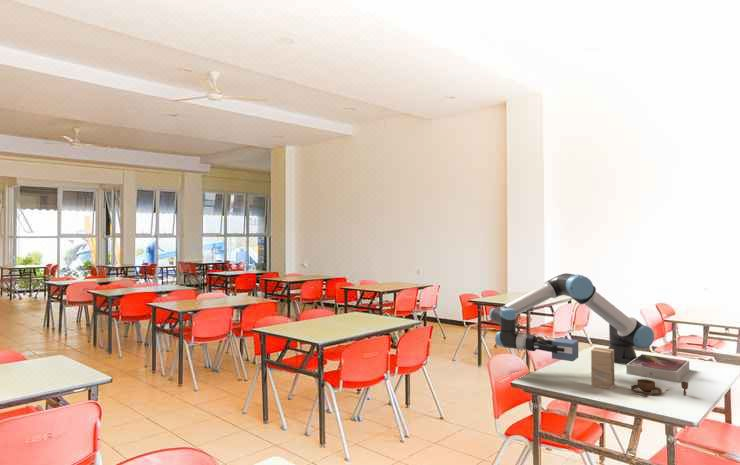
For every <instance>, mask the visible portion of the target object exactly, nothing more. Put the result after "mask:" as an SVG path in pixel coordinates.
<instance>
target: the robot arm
mask: <svg viewBox="0 0 740 465" xmlns="http://www.w3.org/2000/svg"><path fill="white" fill-rule="evenodd" d="M561 296H567V297H570V298H571V299H573V300H574V301H575V302H576V303H578V304H579V305H585V306H587V308H589V309H590V310H591V311H593V313H595V314H597V315H598V316H599V317H601V319H603V320H604V321H605V322H607V323H608V328H609V330H608V331H609V334H608V335H609V336H608V337H609V340H608V341H609V345H608V346H609V347H608V348H607V349H614V364H615V363H616V364H625V365H626V364H628V363H629V362H631V361H632V360H634V359H635V358H637V357H638V356H637V354H636V351H635V348H634V347H636V348H638V349H642V350H643V349H648V348H649V347H651V346H652V344H653V343H654V341H655V332H654V330H653V329H652V327H650V326H648V325H644V324H642V323H641V322H640V321H639V320H637V319H636V318H634V317H632V316H631V317H629V316H628V315H626V314H625V313H623V311H621V310H620V309H619V308H618V307H616V306H615V305H614V304H612V302H610V301H608V300H607V299H606V298H605V297H603V296H602V295H601V294H600V293H599V292H597V288H596V286H595V285H594V284H593V282H592V280H591V279H590V278H588V276H584V275H583V274H572V273H561V274H558V275H557V276H555V277H552V278H550V279H548V280H546V281H545V282H544V284H543V285H541V286H540V287H537V288H535V289H533V290H532V291H530V292H527V293H525V294H524V295H522V296H520V297H517V298H516V299H514V300H512V301H510V302H508V303H506V304H504V305H501V306H500V307H493V308H491V309H490V311H489V313H488V314H489V316H488V317H489V319H490V320H491V321H492V322H494V323H495V324H498V325H500V328H499V329H500V331H497V332H496V333H495V337H494V341H495V344H496V346H498V347H502V348H507V349H515V350H520V351H521V352H522V351H527V352H528V351H530V352H535V351H536V350H539V351H543V352H550V353H551V354H552V353H555V354H557V352H561V353H569V354H572V348H571V347H563V346H553V345H552V341H553V340H554V339H545V338H544V339H539V340H538V339H537V338H538V337H537V336H536V335H532V334H524V333H517V328H516V327H517V316H518V315H520V314H522V313H524V312H526V311H528V310H530V309H532V308H534V307H535V306H538V305H540V304H541V303H544V302H546V301H548V300H549V299H557V298H558V297H561Z"/></svg>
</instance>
